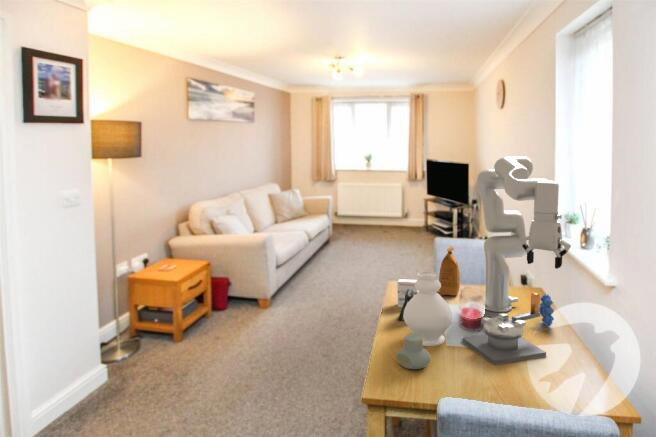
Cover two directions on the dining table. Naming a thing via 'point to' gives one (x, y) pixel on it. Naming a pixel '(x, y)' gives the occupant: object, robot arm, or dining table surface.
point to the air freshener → (413, 353)
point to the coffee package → (449, 275)
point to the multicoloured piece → (511, 322)
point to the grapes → (546, 310)
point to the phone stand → (407, 299)
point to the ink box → (403, 287)
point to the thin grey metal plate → (503, 349)
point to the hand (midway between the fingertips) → (543, 265)
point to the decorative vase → (428, 311)
